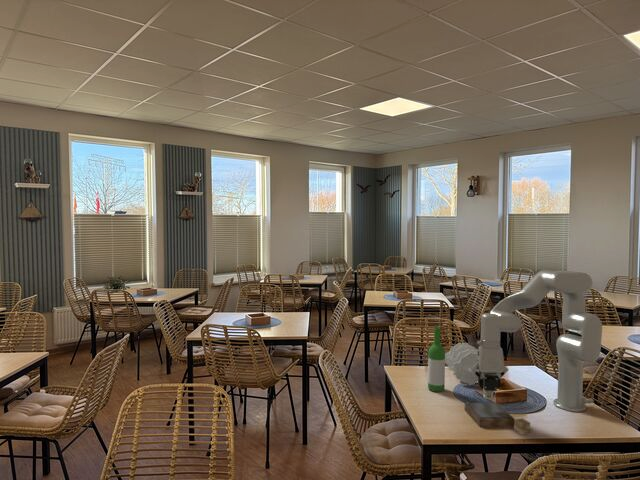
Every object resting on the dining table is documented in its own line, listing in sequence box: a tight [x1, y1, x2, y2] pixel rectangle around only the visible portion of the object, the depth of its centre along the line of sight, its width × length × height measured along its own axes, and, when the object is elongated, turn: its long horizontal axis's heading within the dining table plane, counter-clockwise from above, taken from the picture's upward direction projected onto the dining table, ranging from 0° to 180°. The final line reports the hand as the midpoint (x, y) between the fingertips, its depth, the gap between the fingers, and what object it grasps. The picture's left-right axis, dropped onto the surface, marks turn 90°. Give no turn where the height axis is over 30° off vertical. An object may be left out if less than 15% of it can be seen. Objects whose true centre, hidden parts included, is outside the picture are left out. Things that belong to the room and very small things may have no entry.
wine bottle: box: [427, 326, 446, 393], centre depth 216 cm, size 8×8×30 cm
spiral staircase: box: [445, 341, 479, 386], centre depth 231 cm, size 18×18×25 cm
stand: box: [464, 402, 515, 428], centre depth 185 cm, size 14×16×3 cm
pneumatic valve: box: [482, 373, 499, 401], centre depth 184 cm, size 6×12×12 cm, turn 169°
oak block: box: [513, 417, 531, 435], centre depth 173 cm, size 4×4×4 cm
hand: (489, 387), depth 185 cm, fingers closed on pneumatic valve, 5 cm apart
